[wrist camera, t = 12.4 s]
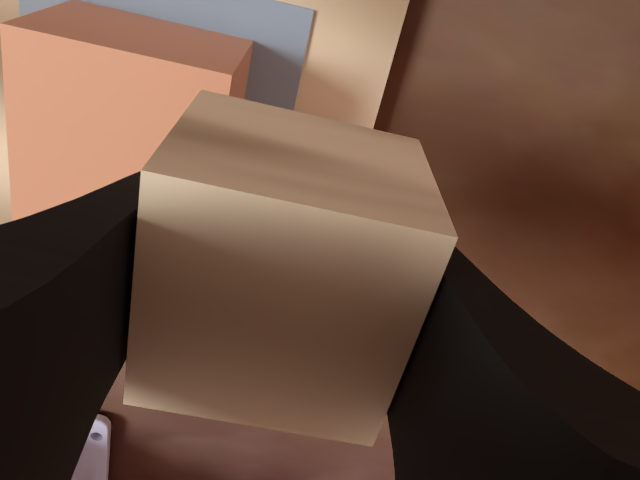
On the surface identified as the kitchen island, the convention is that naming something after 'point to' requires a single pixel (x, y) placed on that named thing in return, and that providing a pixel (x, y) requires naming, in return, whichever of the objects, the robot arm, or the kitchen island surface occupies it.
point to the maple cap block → (281, 269)
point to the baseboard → (274, 52)
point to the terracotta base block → (101, 94)
